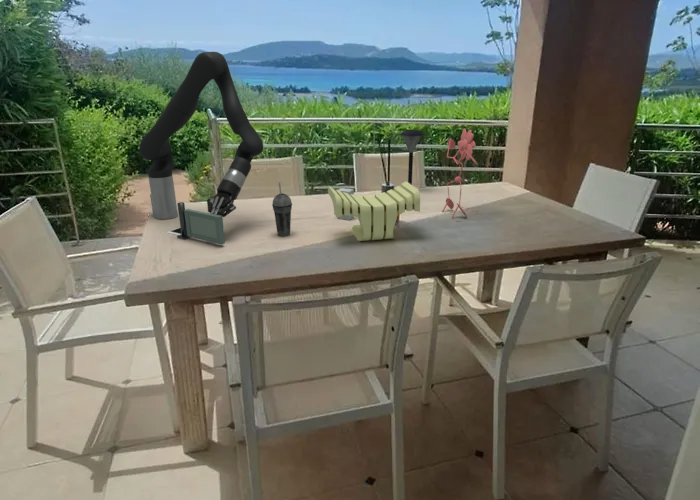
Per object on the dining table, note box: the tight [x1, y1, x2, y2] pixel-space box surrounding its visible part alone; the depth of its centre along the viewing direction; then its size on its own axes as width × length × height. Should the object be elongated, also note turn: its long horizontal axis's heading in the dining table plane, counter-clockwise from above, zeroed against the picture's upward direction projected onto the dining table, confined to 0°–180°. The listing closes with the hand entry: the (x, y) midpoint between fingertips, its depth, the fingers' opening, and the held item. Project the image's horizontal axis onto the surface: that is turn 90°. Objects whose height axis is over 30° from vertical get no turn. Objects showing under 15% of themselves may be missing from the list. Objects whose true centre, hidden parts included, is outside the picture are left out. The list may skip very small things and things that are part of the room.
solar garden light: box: [398, 129, 426, 185], centre depth 233 cm, size 12×12×30 cm
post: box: [176, 201, 192, 241], centre depth 178 cm, size 4×4×13 cm
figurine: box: [441, 128, 479, 223], centre depth 200 cm, size 15×26×35 cm, turn 15°
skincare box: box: [336, 187, 355, 221], centre depth 199 cm, size 6×4×12 cm
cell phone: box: [166, 226, 181, 237], centre depth 190 cm, size 8×16×1 cm, turn 149°
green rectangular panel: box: [184, 208, 226, 246], centre depth 173 cm, size 17×2×10 cm, turn 58°
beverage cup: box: [272, 182, 293, 237], centre depth 179 cm, size 7×7×20 cm
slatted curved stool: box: [327, 180, 421, 242], centre depth 178 cm, size 30×16×18 cm, turn 103°
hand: (210, 225), depth 173 cm, fingers closed
